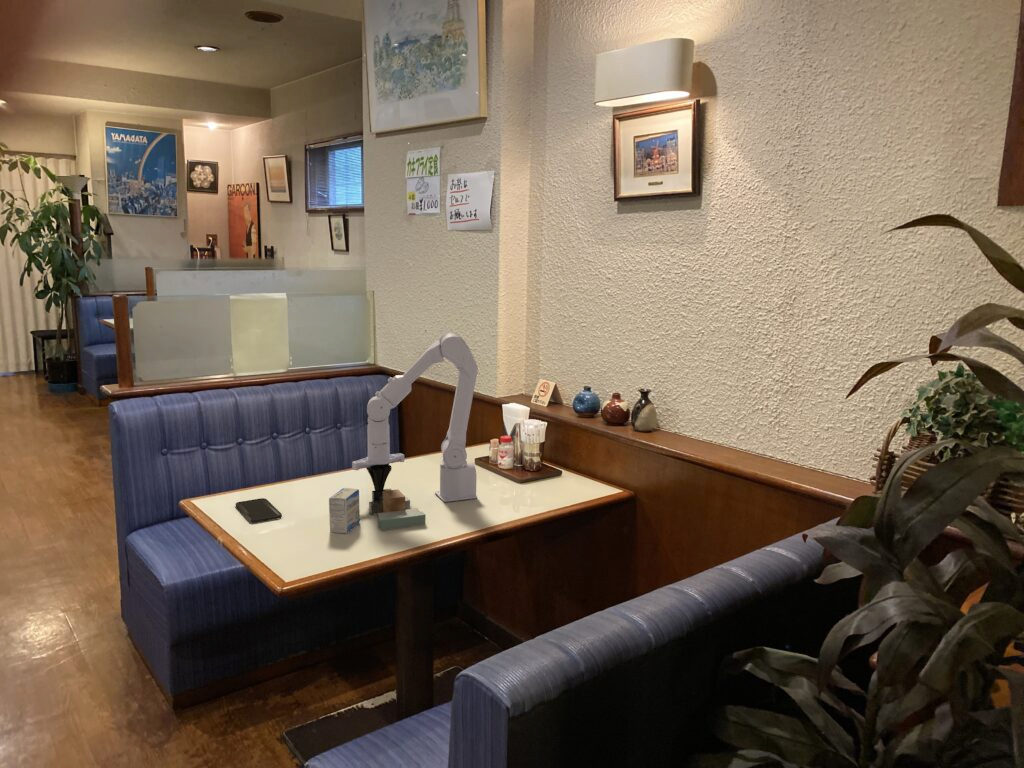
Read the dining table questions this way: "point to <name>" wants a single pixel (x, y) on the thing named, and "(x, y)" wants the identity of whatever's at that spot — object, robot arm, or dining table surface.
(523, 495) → the dining table surface
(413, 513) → the teal flat block
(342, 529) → the medicine box
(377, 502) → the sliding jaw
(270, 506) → the phone
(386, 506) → the walnut block
